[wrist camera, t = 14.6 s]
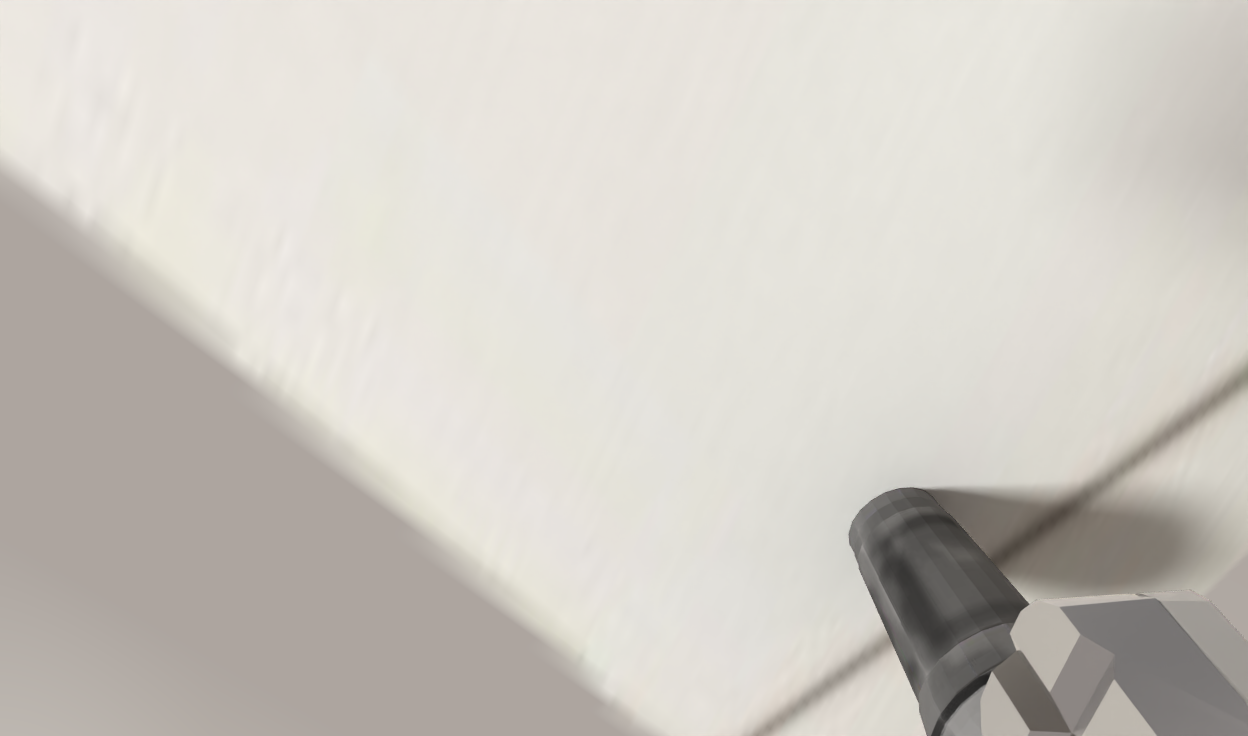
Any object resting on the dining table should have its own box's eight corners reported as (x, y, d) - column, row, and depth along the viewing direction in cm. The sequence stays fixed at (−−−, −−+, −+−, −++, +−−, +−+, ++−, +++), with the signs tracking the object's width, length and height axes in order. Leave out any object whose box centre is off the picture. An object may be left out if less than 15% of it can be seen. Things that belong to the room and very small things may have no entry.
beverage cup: (923, 436, 52) (1208, 821, 36) (989, 519, 56) (1273, 897, 40) (792, 531, 53) (1011, 942, 37) (867, 605, 58) (1093, 1004, 42)
